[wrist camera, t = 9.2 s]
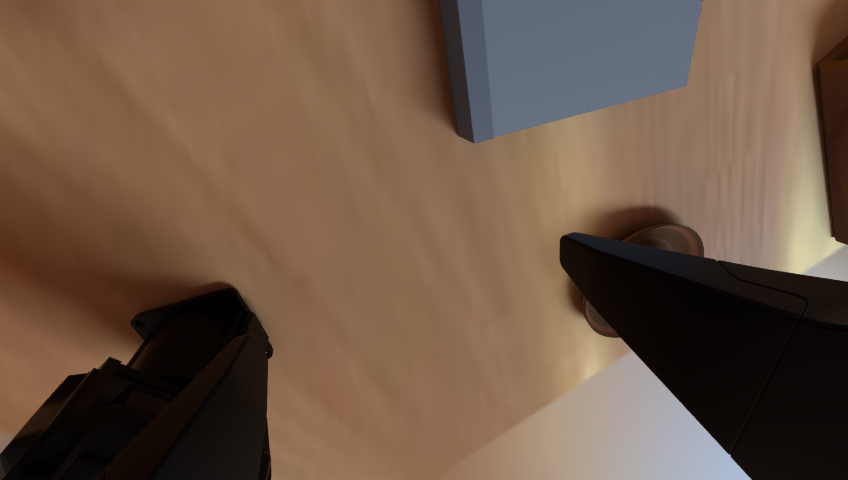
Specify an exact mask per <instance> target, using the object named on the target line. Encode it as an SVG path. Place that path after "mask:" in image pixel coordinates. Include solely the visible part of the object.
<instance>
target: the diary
mask: <svg viewBox="0 0 848 480" xmlns="http://www.w3.org/2000/svg"><path fill="white" fill-rule="evenodd" d="M817 70H818V80H819V90H820V100H821V110H822V120H823V130H824V140H825V150H826V160H827V170H828V180H829V190H830V200H831V210H832V220H833V230H834V237H835V239H836V241H838V242H841V243H844V244H847V245H848V36H847V37H846V38H845V39H844V40H843V41H842V42H840V43H839V44H838V45H837V46H836V47H835V48H833V49H832V50H831V51H830V52H829V53H828V54H827V55H825V56H824V57H823V58H822V59H821V60H820V61H818V62H817Z"/></svg>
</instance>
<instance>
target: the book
mask: <svg viewBox="0 0 848 480" xmlns="http://www.w3.org/2000/svg"><path fill="white" fill-rule="evenodd" d="M439 4H440V12H441V19H442V26H443V33H444V40H445V47H446V54H447V61H448V68H449V75H450V82H451V89H452V96H453V103H454V110H455V117H456V124H457V131H458V136H460V137H462V138H464V139H466V140H468V141H470V142H472V143H478V142H482V141H486V140H489V139H493V138H494V137H496V136H500V135H504V134H508V133H511V132H515V131H519V130H522V129H526V128H530V127H534V126H537V125H541V124H545V123H549V122H552V121H556V120H560V119H564V118H567V117H571V116H575V115H579V114H582V113H586V112H590V111H594V110H597V109H601V108H605V107H609V106H612V105H616V104H620V103H624V102H627V101H631V100H635V99H639V98H642V97H646V96H650V95H654V94H657V93H661V92H665V91H668V90H672V89H676V88H680V87H683V86H687V80H688V75H689V70H690V64H691V59H692V54H693V48H694V43H695V37H696V32H697V27H698V21H699V16H700V11H701V5H702V0H439Z"/></svg>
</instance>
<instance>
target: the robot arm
mask: <svg viewBox="0 0 848 480" xmlns="http://www.w3.org/2000/svg"><path fill="white" fill-rule="evenodd" d="M560 263H561V265H562V267H563V269H564V270H565V271H566V273H567V274H568V275H569V277H570V278H571V279H572V281H573V282H574V283H575V285H576V286H577V287H578V289H579V290H580V291H581V293H582V294H583V295H584V297H585V298H586V299H587V301H588V302H589V303H590V304H591V306H592V307H593V308H594V309H595V310H596V311H597V312H598V314H599V315H600V316H601V317H602V318H603V319H604V320H605V321H606V322H607V323H608V324H609V325H610V327H611V328H612V329H613V330H614V331H615V332H616V333H617V334H618V335H619V336H620V337H621V338H622V340H623V341H624V342H625V343H626V344H627V345H628V346H629V347H630V348H631V349H632V350H633V351H634V352H635V354H637V356H638V357H639V358H640V359H641V360H642V361H643V362H644V363H645V364H646V365H647V366H648V368H649V369H650V370H651V371H652V372H653V373H654V374H655V375H656V376H657V377H658V378H659V379H660V380H661V382H662V383H663V384H664V385H665V386H666V387H667V388H668V389H669V390H670V391H671V392H672V393H673V395H674V396H675V397H676V398H677V399H678V400H679V401H680V402H681V403H682V404H683V405H684V407H686V409H687V410H688V411H689V412H690V413H691V414H692V415H693V416H694V417H695V418H696V420H698V422H699V423H700V424H701V425H702V426H703V427H704V428H705V429H706V430H707V431H708V432H709V433H710V435H711V436H712V437H713V438H714V439H715V440H716V441H717V442H718V443H719V444H720V445H721V447H722V448H723V449H724V450H725V451H726V452H727V453H728V454H730V455H731V458H732V459H733V460H734V461H735V462H736V463H737V464H738V465H739V466H740V467H741V468H742V470H743V471H744V472H745V473H746V474H747V475H748V476H749V477H750V478H751V479H752V480H848V282H846V281H840V280H833V279H827V278H819V277H813V276H807V275H800V274H794V273H788V272H782V271H775V270H769V269H763V268H758V267H752V266H747V265H741V264H736V263H731V262H726V261H721V260H719V261H716V260H715V259H710V258H705V257H700V256H695V255H690V254H684V253H679V252H674V251H669V250H664V249H659V248H654V247H649V246H643V245H638V244H633V243H628V242H623V241H618V240H613V239H607V238H602V237H597V236H592V235H587V234H582V233H577V232H573V233H570V234H567V235H563V236H562V237H561V239H560ZM226 294H230V295H232V296H233V297H228V296H227V295H226ZM140 321H143V322H144V323H142V322H140ZM131 326H132V327H133V328H134V329H135V330H136V332H137V333H138V334H139V335H140V336H141V337H142V338H143V340H144V342H143V343H142V345H141V346H140V347H139V349H138V350H137V351H136V353H135V354H134V356H133V357H132V358H131V360H130V361H129V363H128V364H127V365H126V366H125V365H123V364H120V363H121V362H122V361H119V360H116V359H114V358H111V357H109V358H108V359H107V360H106V361H105V362H104V363H103V364H102V365H101V366H100V367H99V368H98V369H96V368H93V369H92V370H91V371H90V372H88V373H85V374H77V375H69V376H68V377H67V378H66V379H65V380H64V381H63V382H62V383H61V384H60V385H59V387H58V388H57V389H56V390H55V391H54V392H53V393H52V394H51V396H50V397H49V398H48V399H47V400H46V401H45V402H44V403H43V405H42V406H41V407H40V408H39V409H38V410H37V411H36V412H35V414H34V415H33V416H32V417H31V418H30V419H29V420H28V422H27V423H26V424H25V425H24V426H23V427H22V429H21V430H20V431H19V432H18V433H17V435H16V436H15V437H14V438H13V439H12V440H11V442H10V443H9V444H8V445H7V447H6V448H5V449H4V450H3V451H2V452H1V454H0V480H271V456H270V448H269V437H268V425H267V417H266V415H267V384H268V359H269V358H271V357H272V354H273V348H272V346H271V344H270V343H269V341H268V339H269V337H268V335H267V333H266V332H265V330H264V328H263V327H262V325H261V323H260V322H259V320H258V319H257V317H256V315H255V314H254V313H253V312H251V311H250V310H249V309H248V307H247V305H246V304H245V302H244V300H243V299H242V297H241V296H240V294H239V292H238V291H237V290H236V289H234V288H225V289H221V290H218V291H215V292H211V293H208V294H204V295H201V296H198V297H194V298H191V299H187V300H184V301H181V302H177V303H174V304H170V305H167V306H164V307H160V308H157V309H153V310H150V311H147V312H143V313H140V314H137V315H136V316H135V317H134V318H133V319H132V320H131ZM265 352H268V353H265Z"/></svg>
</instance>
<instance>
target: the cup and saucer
mask: <svg viewBox="0 0 848 480" xmlns="http://www.w3.org/2000/svg"><path fill="white" fill-rule="evenodd" d="M622 241H623V242H628V243H633V244H638V245H643V246H649V247H654V248H659V249H664V250H669V251H674V252H679V253H684V254H690V255H695V256H700V257H704V247H703V243H702V240H701V238H700V236H699V235H698V234H697V233H696V232H695V231H694V230H693V229H691V228H689V227H687V226H683V225H679V224H671V223H667V224H658V225H654V226H650V227H647V228H645V229H642V230H640V231H638V232H636V233H634V234H632V235H630V236H628V237H627V238H625V239H623V240H622ZM583 311H584V316H585V318H586V320H587V322H588V324H589V325H590V327H591V328H592V329H593V330H594V331H595V332H597V333H598V334H600V335H602V336H606V337H612V338H619V337H620V336H619V335H618V334H617V333H616V332H615V331H614V330H613V329H612V328H611V327H610V325H609V324H608V323H607V322H606V321H605V320H604V319H603V318H602V317H601V316H600V315H599V314H598V312H597V311H596V310H595V309H594V308H593V307H592V306H591V304H590V303H589V302H588V301H587V299H586V298H585V297H584V298H583Z"/></svg>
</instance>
